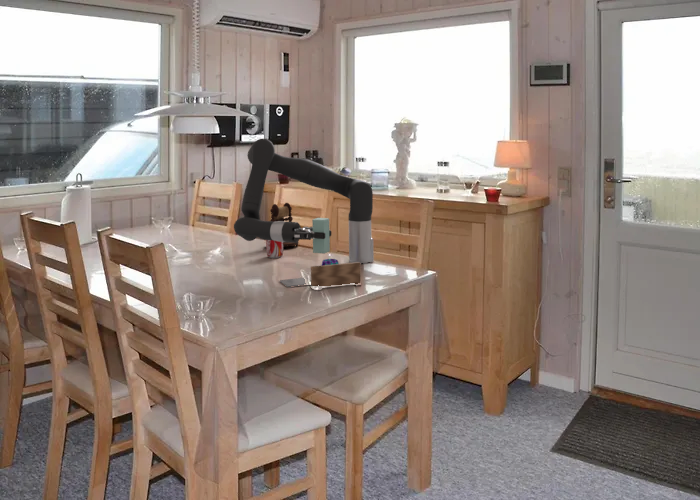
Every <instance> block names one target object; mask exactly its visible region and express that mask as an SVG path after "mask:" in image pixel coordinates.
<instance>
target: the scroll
mask: <svg viewBox="0 0 700 500" xmlns="http://www.w3.org/2000/svg"><path fill="white" fill-rule="evenodd" d="M292 210H293V207H292V206H291V205H290V203H289V202H285V203H284V205H283V206H278V204H276V203H274V204H272V206H271V209H270V210H269V212H270V215H271V216H270V220H269V221H274V222H277V221H286V222H293V217H292V216H293V214H292ZM299 244H300V243H299V241H298V242H296V243H291V242H283V248H285V247H293V246H295V247H296V248H297V247H298V246H299Z"/></svg>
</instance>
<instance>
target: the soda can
mask: <svg viewBox="0 0 700 500" xmlns="http://www.w3.org/2000/svg"><path fill="white" fill-rule="evenodd" d="M265 244H266V248H265V249H266V256H267V257H268V258H270V259H279V258H281V257H282V256H283V255H284V247H283V242H279V241H274V240H265Z"/></svg>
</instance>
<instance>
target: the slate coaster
mask: <svg viewBox="0 0 700 500" xmlns="http://www.w3.org/2000/svg"><path fill="white" fill-rule="evenodd" d="M279 282H280V284H282V283H283V284H284V286H285V285H286V286H287V287H290V288H292V287H291V286H298V285H304V284H306V283H305V279H304V277H298V278H296V277H295V278H288V279H287V278H286V279H279ZM283 284H282V285H283ZM286 286H285V287H286ZM287 287H286V288H287Z"/></svg>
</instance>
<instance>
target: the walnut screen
mask: <svg viewBox="0 0 700 500" xmlns="http://www.w3.org/2000/svg"><path fill="white" fill-rule="evenodd" d="M310 281H311V285H312V286H318V285H319V286H331V285H342V284H350V283H355V284H358V283H362V281H361V264H360V262H352V263H351V262H344V263H343V262H342V263H339V264H332V265H322V264H321V265H314V266H310Z"/></svg>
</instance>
